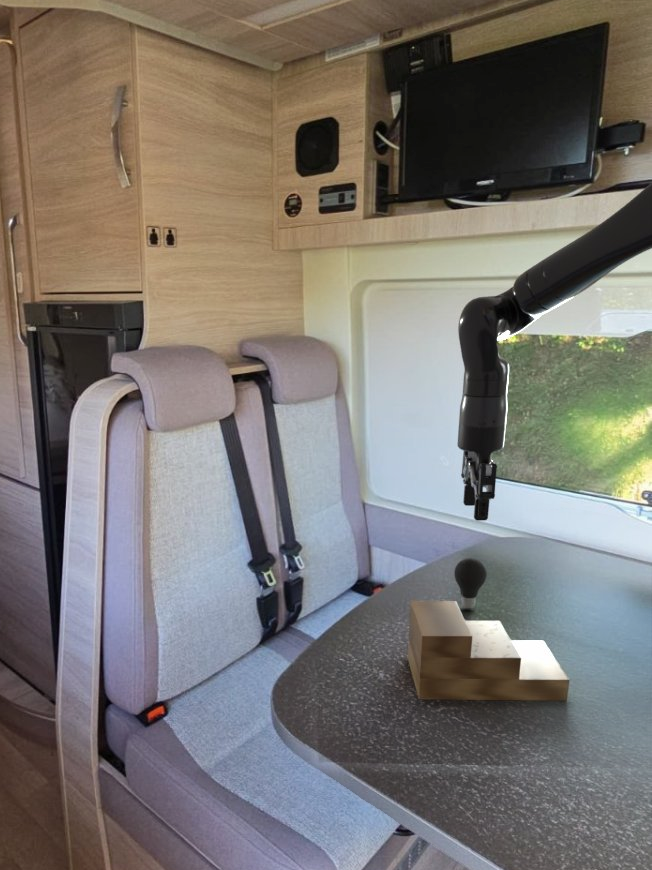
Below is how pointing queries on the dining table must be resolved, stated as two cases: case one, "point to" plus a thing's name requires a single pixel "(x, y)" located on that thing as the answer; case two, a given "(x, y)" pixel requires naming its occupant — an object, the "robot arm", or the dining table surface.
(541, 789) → the dining table surface
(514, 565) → the dining table surface
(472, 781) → the dining table surface
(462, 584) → the light bulb
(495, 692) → the step shelf
